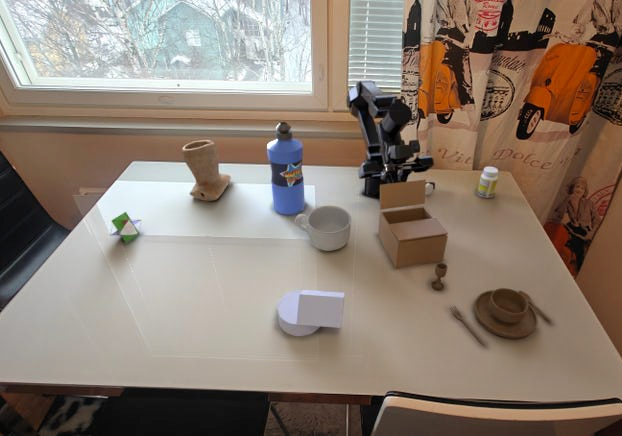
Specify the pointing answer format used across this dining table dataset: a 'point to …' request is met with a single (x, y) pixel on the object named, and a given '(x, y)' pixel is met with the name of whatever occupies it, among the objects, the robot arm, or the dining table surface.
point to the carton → (412, 236)
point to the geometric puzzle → (125, 227)
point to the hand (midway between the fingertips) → (401, 199)
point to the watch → (429, 187)
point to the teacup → (327, 227)
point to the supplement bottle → (488, 182)
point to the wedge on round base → (310, 311)
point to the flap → (402, 194)
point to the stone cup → (205, 170)
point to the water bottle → (286, 171)
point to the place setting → (499, 309)
